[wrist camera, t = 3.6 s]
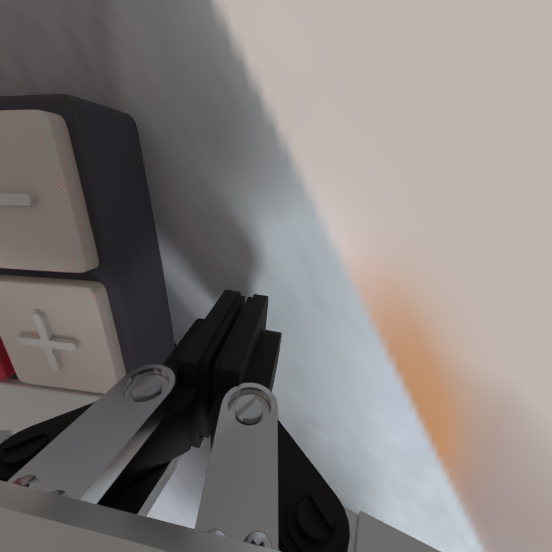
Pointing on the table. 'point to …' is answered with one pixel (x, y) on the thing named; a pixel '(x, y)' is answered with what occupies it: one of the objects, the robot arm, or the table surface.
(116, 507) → the robot arm
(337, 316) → the table surface
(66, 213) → the calculator
